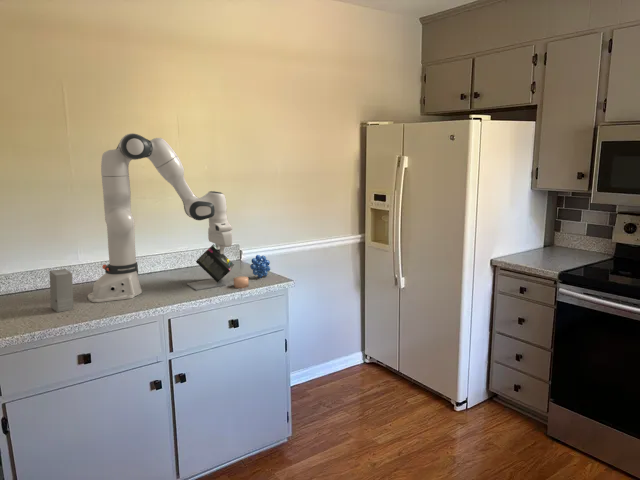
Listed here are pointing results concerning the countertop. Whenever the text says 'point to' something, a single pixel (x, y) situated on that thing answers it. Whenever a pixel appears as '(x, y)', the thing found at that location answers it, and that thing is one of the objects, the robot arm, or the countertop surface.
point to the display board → (205, 284)
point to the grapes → (260, 266)
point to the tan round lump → (241, 282)
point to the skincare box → (61, 290)
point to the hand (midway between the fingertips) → (220, 253)
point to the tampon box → (215, 263)
